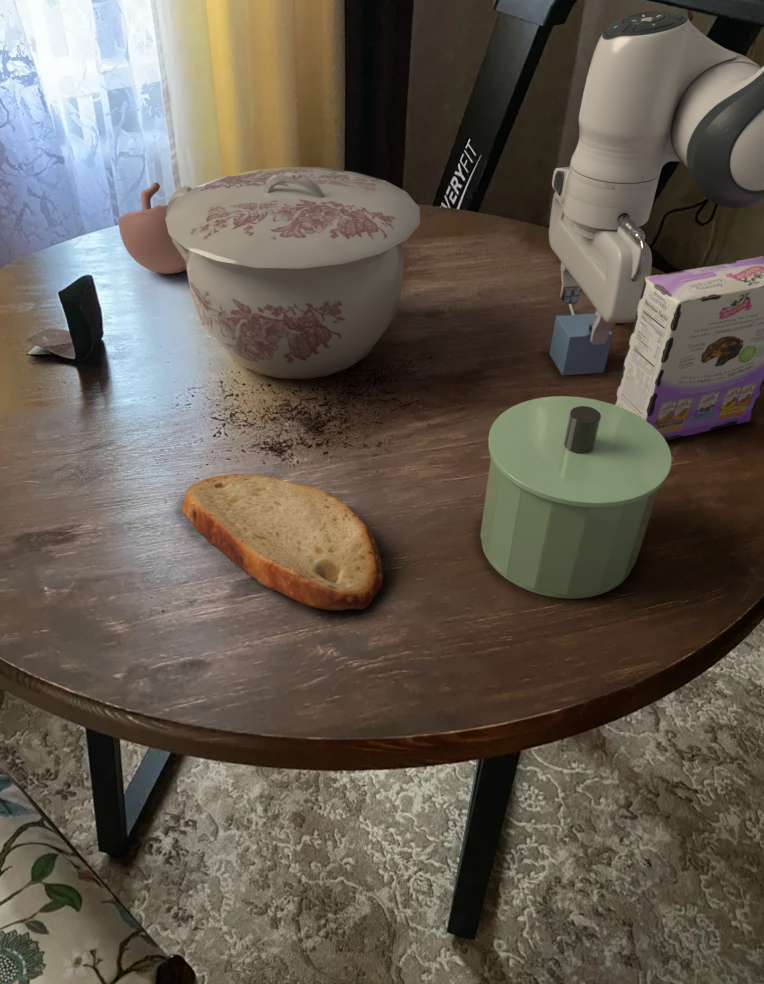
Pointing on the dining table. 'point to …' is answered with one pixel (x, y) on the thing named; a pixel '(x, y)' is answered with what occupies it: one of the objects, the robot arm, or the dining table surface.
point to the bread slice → (289, 538)
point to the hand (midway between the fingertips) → (581, 320)
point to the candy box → (697, 349)
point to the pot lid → (579, 451)
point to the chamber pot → (294, 264)
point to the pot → (560, 540)
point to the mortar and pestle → (150, 237)
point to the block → (577, 346)
